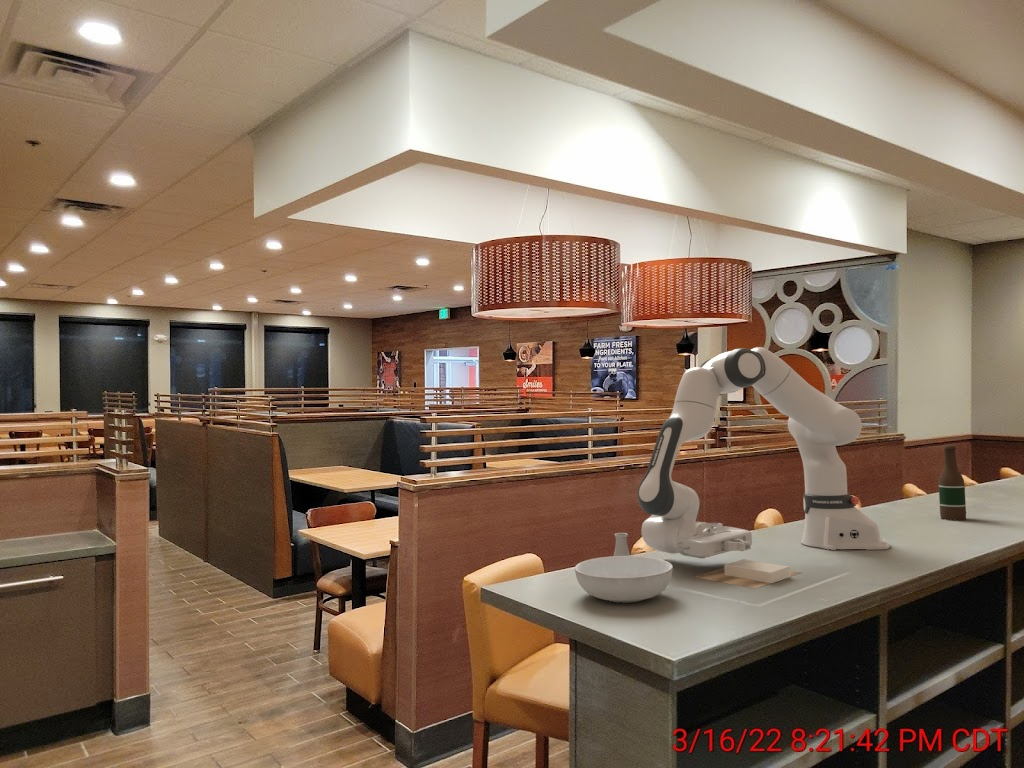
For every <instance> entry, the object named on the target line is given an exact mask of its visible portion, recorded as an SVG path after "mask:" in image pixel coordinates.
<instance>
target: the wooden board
mask: <svg viewBox="0 0 1024 768" xmlns="http://www.w3.org/2000/svg"><path fill="white" fill-rule="evenodd" d="M799 574H802V572H801V571H800V572H799V571H794V570H790V577H789V578H791V577H794V576H797V575H799ZM694 578H697V579H703V580H707V581H712V582H713V581H714V582H718V583H724V584H729V585H734V586H738V587H739V586H740V587H743V588H750V589H757V588H760V587H761V588H762V587H763V586H767V585H771V583H766V582H760V581H755V580H749V579H744V578H738V577H733V576H727V575H725V568H724V567H722V568H719V569H716V570H712V571H709V572H706V573H703V574H699V575H696V576H694Z"/></svg>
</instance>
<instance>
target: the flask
mask: <svg viewBox="0 0 1024 768" xmlns="http://www.w3.org/2000/svg"><path fill="white" fill-rule="evenodd" d="M628 536H629V534H628V533H627V532H617V533H614V537H615V547H614V552H613V556H631V554H630V550H629V546H628V545H629V544H628V539H627V538H628Z"/></svg>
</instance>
